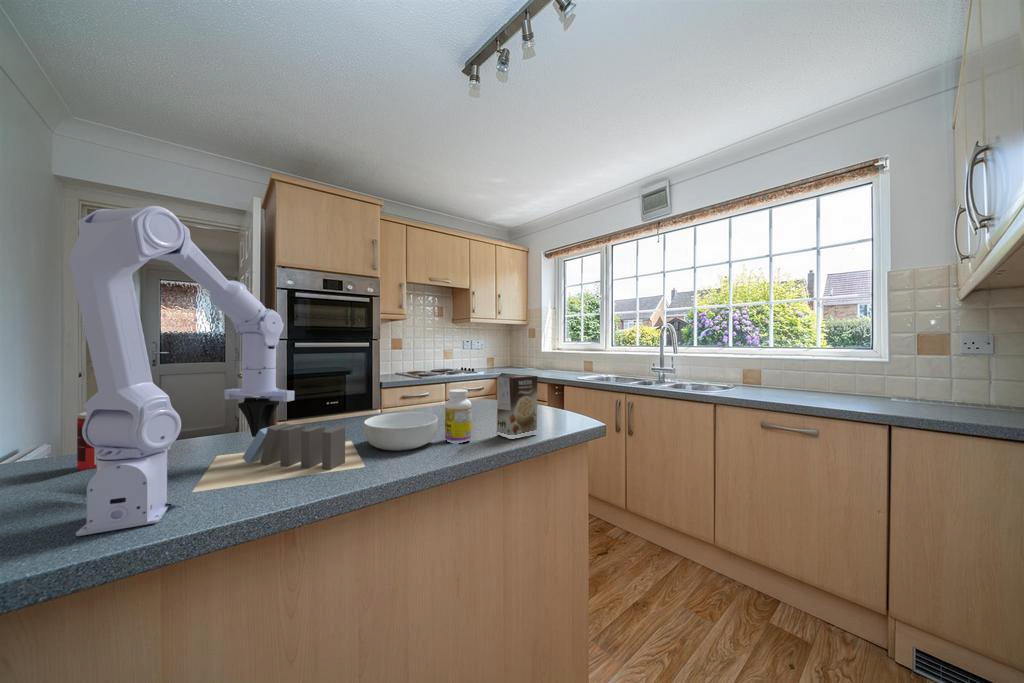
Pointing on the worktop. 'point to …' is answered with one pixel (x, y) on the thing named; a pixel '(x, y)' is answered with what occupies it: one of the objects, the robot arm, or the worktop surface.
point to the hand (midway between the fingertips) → (259, 436)
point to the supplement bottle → (458, 416)
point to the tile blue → (256, 447)
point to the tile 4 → (311, 446)
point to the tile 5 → (333, 448)
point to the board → (264, 470)
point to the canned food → (84, 448)
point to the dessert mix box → (517, 404)
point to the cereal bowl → (401, 430)
